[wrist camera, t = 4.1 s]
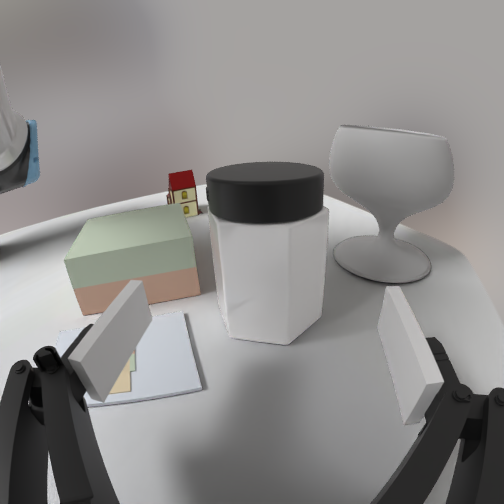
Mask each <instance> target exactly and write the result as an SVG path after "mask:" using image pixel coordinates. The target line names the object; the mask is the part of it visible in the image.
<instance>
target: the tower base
mask: <svg viewBox="0 0 504 504" xmlns="http://www.w3.org/2000/svg"><path fill="white" fill-rule="evenodd" d="M64 262H65V265H66V268H67V272H68V275H69V278H70V281H71V284H72V287H73V289H74V292H75V295H76V298H77V301H78V303H79V306H80V308H81V311H82V314H83V315H89V314H95V313H101V312H104V311H105V310H106V309H107V308H108V306H109V305H110V304H111V303H112V302H113V300H114V299H115V298H116V297H117V296H118V295H119V293H120V292H121V291H122V290H123V289H124V287H125V286H126V285H127V284H128V283H129V282H130V280H141V281H143V285H144V289H145V293H146V297H147V301H148V304H153V303H159V302H164V301H170V300H175V299H180V298H186V297H191V296H196V295H201V293H200V287H199V280H198V274H197V267H196V260H195V253H194V245H193V238H192V234H191V231H190V229H189V226H188V223H187V221H186V218H185V215H184V213H183V210H182V207H181V204H180V203H175V204H169V205H163V206H157V207H151V208H145V209H140V210H134V211H129V212H123V213H118V214H113V215H108V216H103V217H98V218H93V219H88V220H87V222H86V223H85V225H84V227H83V228H82V230H81V231H80V233H79V235H78V236H77V238H76V240H75V241H74V243H73V245H72V246H71V248H70V250H69V252H68V253H67V255H66V257H65V259H64Z"/></svg>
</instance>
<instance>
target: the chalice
mask: <svg viewBox="0 0 504 504" xmlns="http://www.w3.org/2000/svg"><path fill="white" fill-rule="evenodd" d="M329 171H330V175H331V178H332V180H333V181H334V183H335V185H336V186H337V187H338V188H339V189H340V190H341V191H342V192H343V193H344V194H346V195H347V196H349V197H350V198H352V199H353V200H354V201H356V202H358V203H359V204H361V205H362V206H363V207H365V208H366V209H367V210H369V211H370V212H371V213H372V214H373V215H374V217H375V218H376V220H377V222H378V225H379V234H378V236H356V237H352V238H348V239H346V240H344V241H342V242H341V243H339V244H338V245H336V247H335V248H334V252H333V255H334V258H335V260H336V261H337V262H338V263H339V265H340V266H342V267H343V268H345V269H346V270H347V271H349V272H351V273H353V274H356V275H358V276H360V277H364V278H367V279H370V280H375V281H379V282H387V283H407V282H412V281H417V280H419V279H421V278H424V277H425V276H426V275H427V274H428V273H429V272H430V270H431V262H430V260H429V258H428V257H427V256H426V255H425V253H424V252H423V251H421V250H420V249H419V248H417V247H415V246H413V245H412V244H410V243H407V242H404V241H402V240H398V239H395V238H394V231H395V229H396V227H397V226H398V224H399V223H400V222H401V221H402V220H404V219H405V218H407V217H409V216H411V215H413V214H416V213H419V212H422V211H425V210H428V209H430V208H433V207H435V206H437V205H439V204H441V203H442V202H443V201H444V200H445V199H446V198H447V197H448V196H449V194H450V192H451V191H452V188H453V182H454V164H453V158H452V153H451V149H450V146H449V144H448V141H447V139H446V137H442V136H438V135H433V134H427V133H421V132H415V131H407V130H399V129H391V128H381V127H370V126H356V125H341V126H340V127H339V129H338V131H337V133H336V135H335V137H334V140H333V143H332V147H331V152H330V158H329Z"/></svg>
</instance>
